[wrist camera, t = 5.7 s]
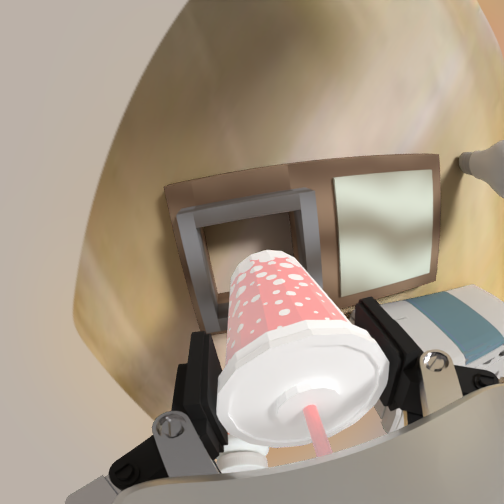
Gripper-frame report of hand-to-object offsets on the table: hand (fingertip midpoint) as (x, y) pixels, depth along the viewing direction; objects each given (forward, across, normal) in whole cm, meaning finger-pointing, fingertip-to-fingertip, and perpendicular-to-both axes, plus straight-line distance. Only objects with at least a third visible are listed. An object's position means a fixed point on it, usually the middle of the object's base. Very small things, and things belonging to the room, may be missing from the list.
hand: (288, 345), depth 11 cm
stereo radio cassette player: (+15, -19, +14) cm, 27 cm away
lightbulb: (+15, -26, -5) cm, 30 cm away
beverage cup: (+6, 0, 0) cm, 6 cm away
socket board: (+15, -7, +1) cm, 16 cm away
